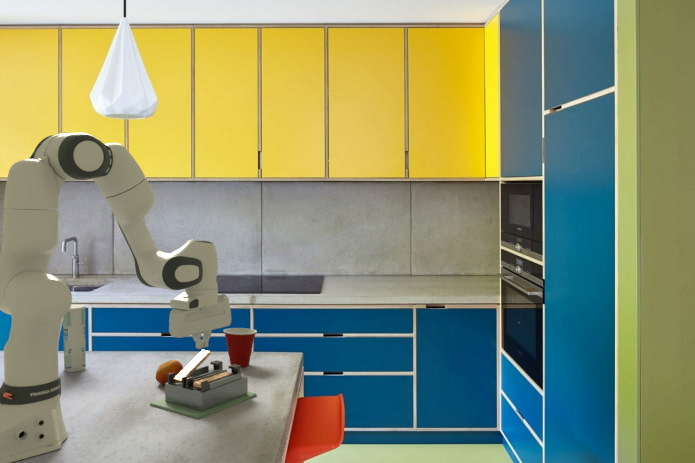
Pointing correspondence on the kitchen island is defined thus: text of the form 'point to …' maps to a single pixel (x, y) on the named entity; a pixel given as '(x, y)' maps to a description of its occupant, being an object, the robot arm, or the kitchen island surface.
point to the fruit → (168, 370)
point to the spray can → (74, 339)
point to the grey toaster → (206, 388)
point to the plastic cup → (239, 345)
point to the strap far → (192, 365)
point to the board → (195, 413)
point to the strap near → (212, 378)
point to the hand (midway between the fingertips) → (202, 347)
